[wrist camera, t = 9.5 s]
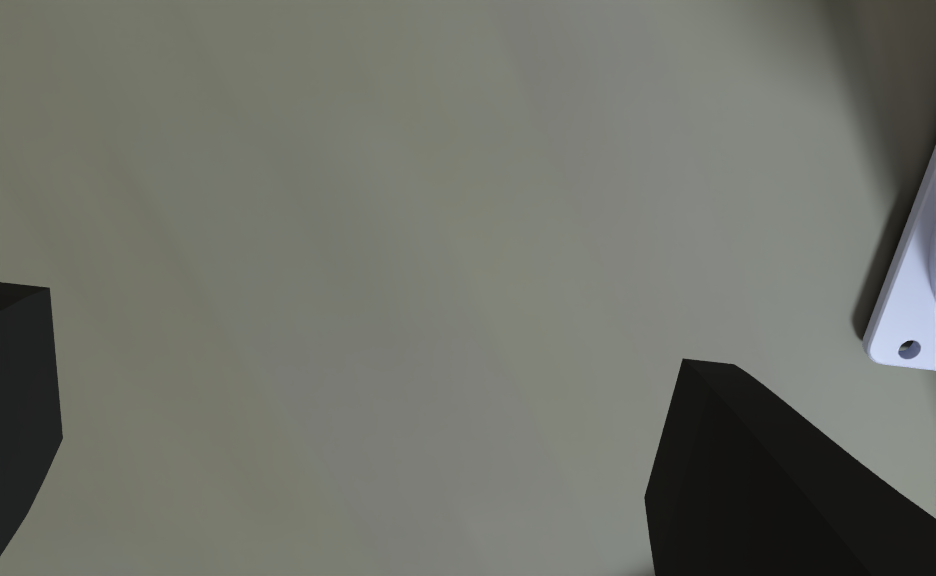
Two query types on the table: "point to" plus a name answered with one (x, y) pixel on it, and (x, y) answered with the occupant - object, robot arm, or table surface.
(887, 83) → the table surface
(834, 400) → the table surface
